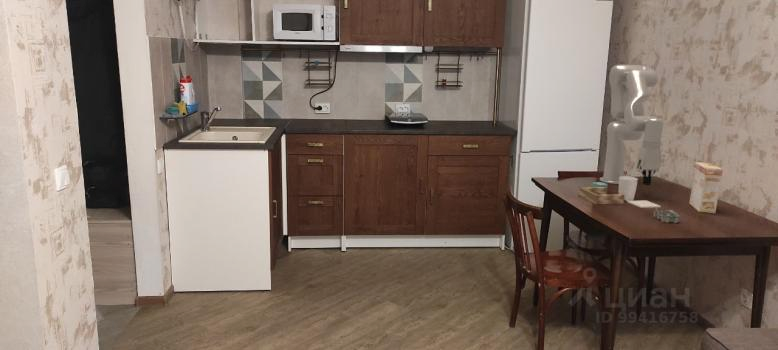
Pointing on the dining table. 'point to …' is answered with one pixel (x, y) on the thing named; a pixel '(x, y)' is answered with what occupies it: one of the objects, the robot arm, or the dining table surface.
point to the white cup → (627, 187)
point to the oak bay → (600, 196)
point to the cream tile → (644, 204)
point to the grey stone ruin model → (666, 216)
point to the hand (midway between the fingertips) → (646, 184)
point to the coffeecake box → (705, 187)
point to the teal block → (599, 185)
